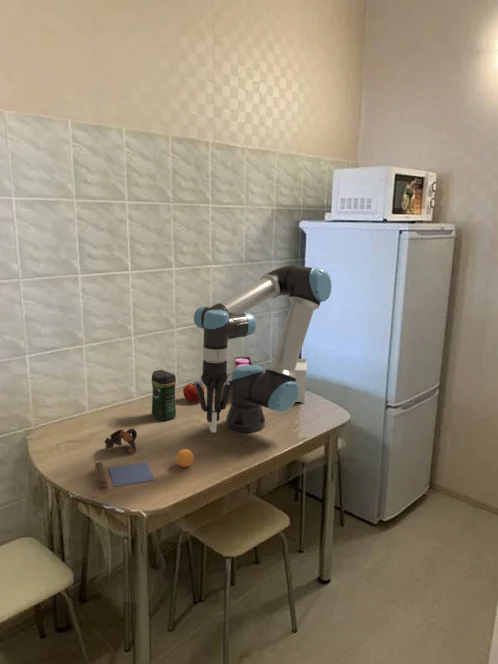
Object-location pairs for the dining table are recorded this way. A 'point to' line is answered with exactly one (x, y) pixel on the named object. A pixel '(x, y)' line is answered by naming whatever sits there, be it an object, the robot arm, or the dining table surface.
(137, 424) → the dining table surface
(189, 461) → the ball
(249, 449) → the dining table surface
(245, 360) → the gum box
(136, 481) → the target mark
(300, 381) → the milk carton
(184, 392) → the tomato
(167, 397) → the coffee jar
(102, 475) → the stopper strip
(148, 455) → the dining table surface
